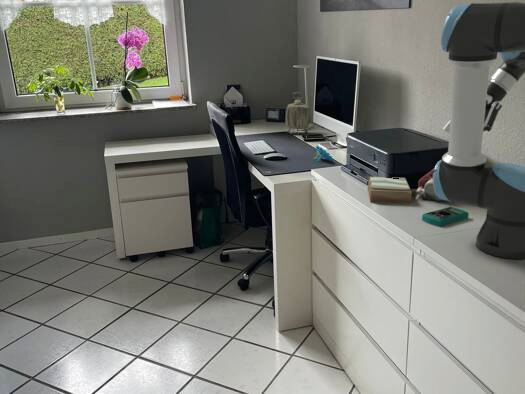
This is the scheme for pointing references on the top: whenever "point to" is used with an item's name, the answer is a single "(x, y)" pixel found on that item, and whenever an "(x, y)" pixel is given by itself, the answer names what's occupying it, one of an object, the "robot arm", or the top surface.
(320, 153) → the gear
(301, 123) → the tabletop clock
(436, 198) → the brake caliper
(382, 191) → the walnut stand
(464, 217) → the digital multimeter
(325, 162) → the top surface
